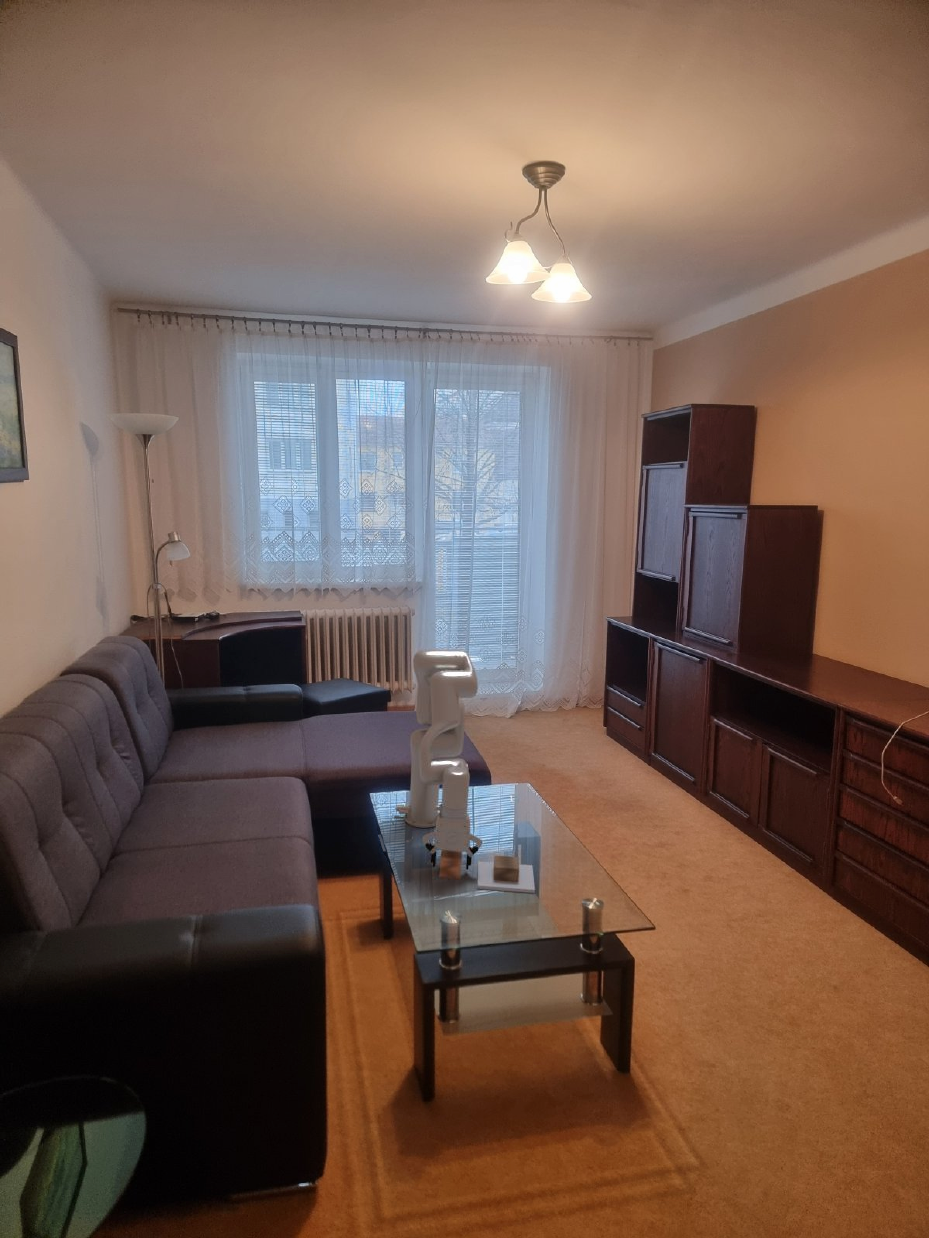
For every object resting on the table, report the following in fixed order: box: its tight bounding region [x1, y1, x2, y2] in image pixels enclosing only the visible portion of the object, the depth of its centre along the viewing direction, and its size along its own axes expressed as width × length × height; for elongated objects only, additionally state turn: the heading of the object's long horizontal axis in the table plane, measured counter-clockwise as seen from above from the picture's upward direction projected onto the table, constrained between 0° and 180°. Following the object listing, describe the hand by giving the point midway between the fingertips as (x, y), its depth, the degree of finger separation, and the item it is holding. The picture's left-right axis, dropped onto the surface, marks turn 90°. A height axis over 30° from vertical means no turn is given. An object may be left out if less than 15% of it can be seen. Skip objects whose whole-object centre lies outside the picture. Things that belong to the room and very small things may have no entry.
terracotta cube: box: [438, 850, 463, 880], centre depth 220 cm, size 6×6×6 cm
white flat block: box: [476, 855, 536, 894], centre depth 219 cm, size 16×14×5 cm
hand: (450, 865), depth 220 cm, fingers open, 9 cm apart
